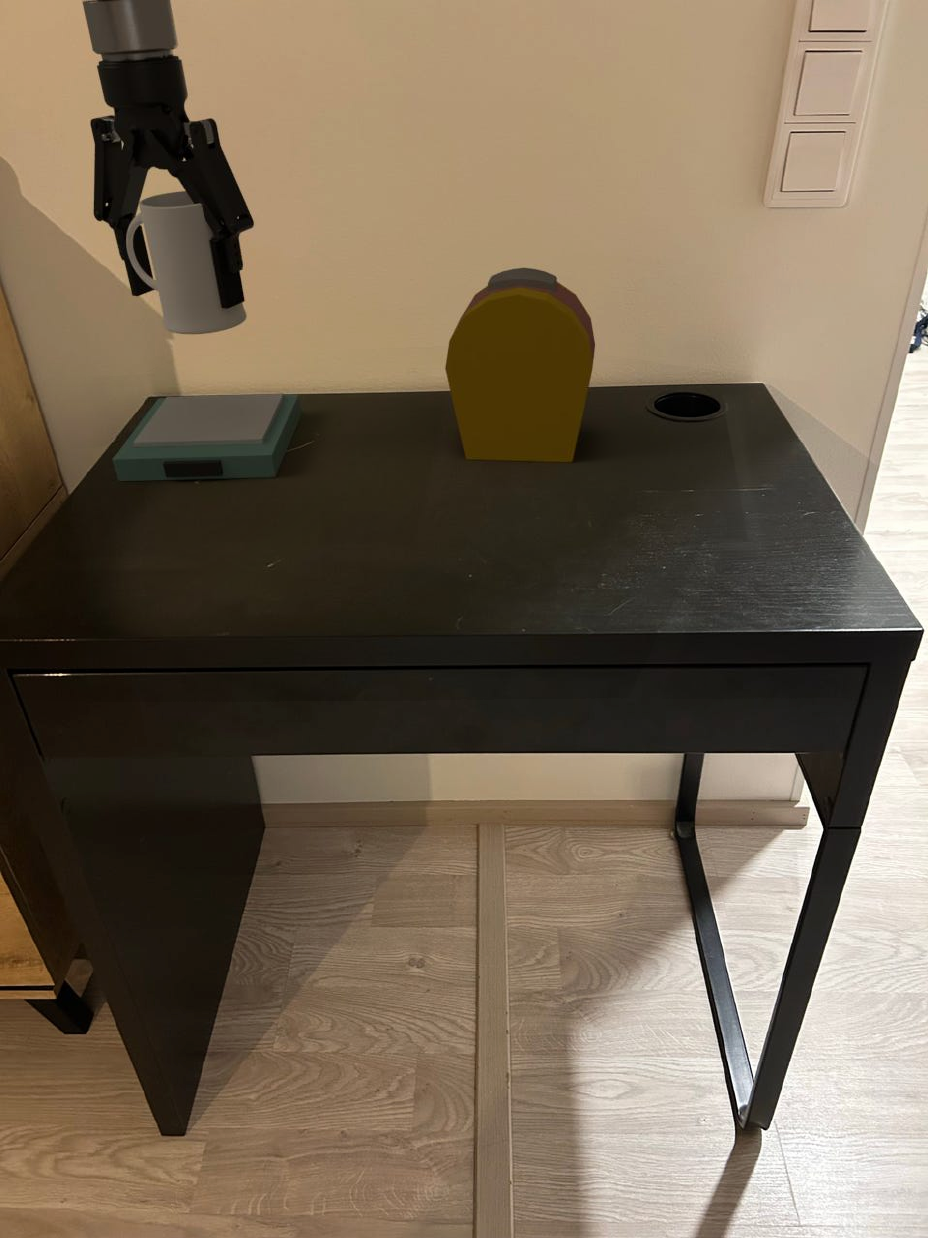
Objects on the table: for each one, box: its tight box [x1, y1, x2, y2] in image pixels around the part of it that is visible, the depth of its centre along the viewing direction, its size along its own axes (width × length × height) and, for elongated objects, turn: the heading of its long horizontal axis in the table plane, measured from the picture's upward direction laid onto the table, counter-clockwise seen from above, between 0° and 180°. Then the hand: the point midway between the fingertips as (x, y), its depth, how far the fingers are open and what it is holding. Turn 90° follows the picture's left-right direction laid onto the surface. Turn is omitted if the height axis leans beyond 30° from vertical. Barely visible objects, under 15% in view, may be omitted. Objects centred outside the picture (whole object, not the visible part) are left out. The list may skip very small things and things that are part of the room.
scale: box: [112, 393, 303, 482], centre depth 107 cm, size 17×18×3 cm
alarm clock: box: [444, 267, 596, 463], centre depth 100 cm, size 15×8×18 cm, turn 81°
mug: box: [126, 190, 248, 335], centre depth 97 cm, size 12×8×12 cm
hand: (187, 298), depth 99 cm, fingers closed on mug, 11 cm apart
